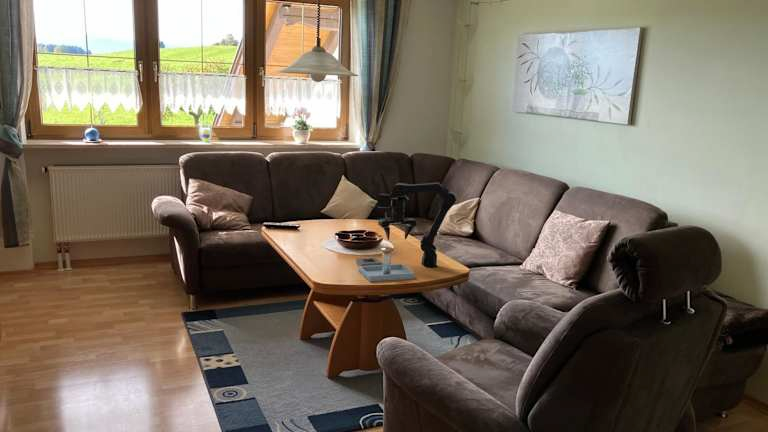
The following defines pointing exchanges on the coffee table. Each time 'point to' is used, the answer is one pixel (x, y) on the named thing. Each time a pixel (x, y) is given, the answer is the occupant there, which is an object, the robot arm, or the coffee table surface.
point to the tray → (396, 274)
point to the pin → (386, 260)
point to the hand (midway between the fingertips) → (396, 239)
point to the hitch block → (368, 261)
